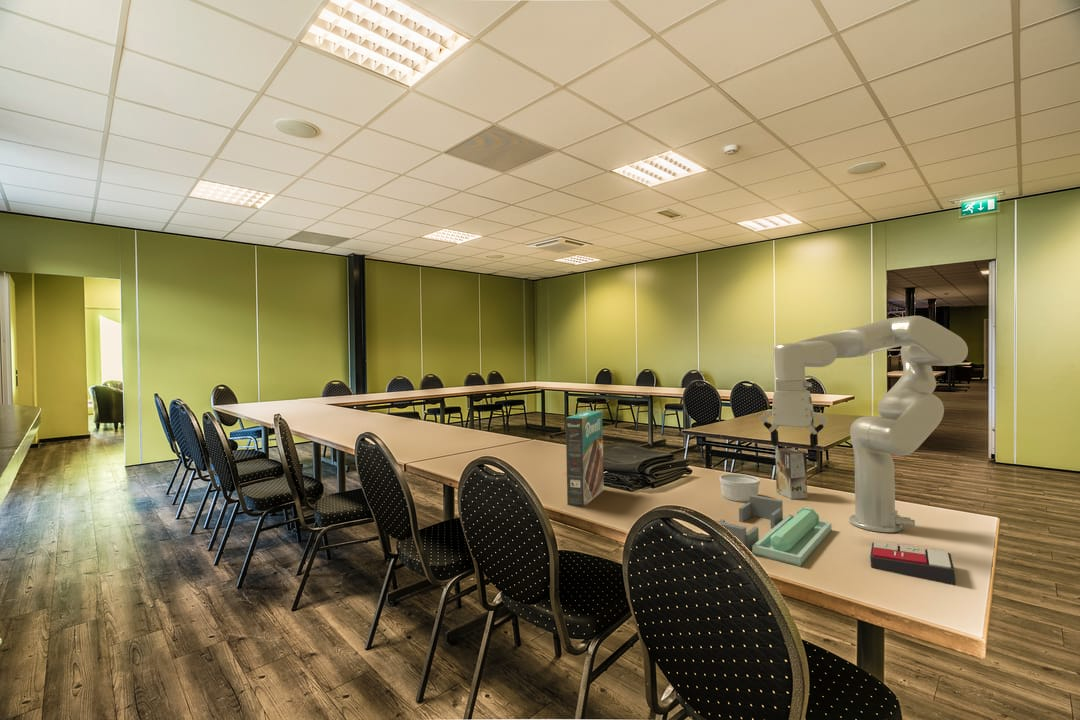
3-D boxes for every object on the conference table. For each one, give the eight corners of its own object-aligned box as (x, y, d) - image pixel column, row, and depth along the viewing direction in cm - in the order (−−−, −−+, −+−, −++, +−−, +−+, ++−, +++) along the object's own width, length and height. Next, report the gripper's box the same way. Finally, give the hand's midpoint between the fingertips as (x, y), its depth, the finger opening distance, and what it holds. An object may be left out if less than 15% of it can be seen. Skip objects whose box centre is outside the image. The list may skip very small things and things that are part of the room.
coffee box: (808, 498, 165) (807, 452, 165) (791, 499, 164) (790, 453, 164) (791, 491, 174) (790, 447, 174) (775, 492, 173) (774, 448, 173)
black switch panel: (871, 538, 120) (949, 549, 111) (873, 556, 120) (951, 567, 111) (869, 553, 111) (954, 566, 102) (871, 572, 111) (955, 586, 102)
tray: (831, 530, 135) (831, 522, 135) (800, 566, 112) (800, 557, 112) (789, 521, 143) (789, 514, 143) (752, 554, 120) (752, 545, 120)
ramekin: (765, 496, 169) (764, 477, 169) (753, 505, 159) (752, 485, 159) (727, 490, 177) (726, 471, 177) (713, 498, 167) (713, 479, 167)
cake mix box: (583, 506, 161) (582, 418, 161) (567, 504, 164) (565, 417, 163) (603, 489, 181) (602, 411, 181) (588, 488, 183) (587, 410, 183)
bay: (784, 520, 144) (784, 500, 144) (745, 553, 121) (745, 529, 121) (750, 513, 151) (750, 494, 151) (707, 543, 128) (707, 521, 127)
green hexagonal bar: (784, 530, 117) (814, 505, 135) (761, 534, 121) (793, 509, 139) (794, 555, 116) (823, 526, 134) (771, 558, 120) (802, 529, 138)
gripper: (828, 385, 132) (831, 446, 133) (762, 385, 144) (765, 441, 144) (823, 387, 127) (826, 451, 127) (754, 387, 138) (758, 446, 138)
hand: (794, 446), depth 135 cm, fingers open, 9 cm apart
